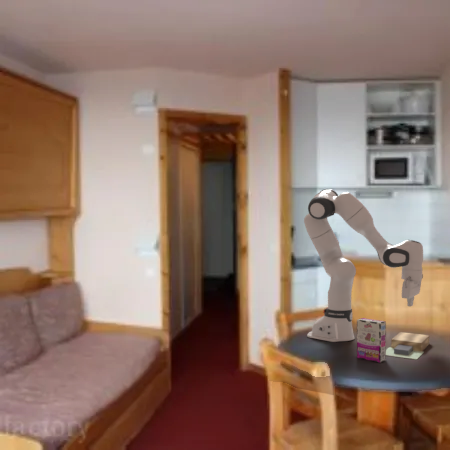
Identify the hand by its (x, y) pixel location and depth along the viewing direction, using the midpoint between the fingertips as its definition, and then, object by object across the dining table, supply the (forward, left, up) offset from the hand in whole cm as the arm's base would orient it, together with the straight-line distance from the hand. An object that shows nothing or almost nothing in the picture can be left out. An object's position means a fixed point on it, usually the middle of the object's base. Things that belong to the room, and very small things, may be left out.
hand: (410, 306), depth 251 cm
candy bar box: (-8, -31, -18) cm, 37 cm away
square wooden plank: (+1, -1, -18) cm, 18 cm away
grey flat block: (+1, -14, -18) cm, 22 cm away
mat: (+1, -16, -18) cm, 24 cm away
